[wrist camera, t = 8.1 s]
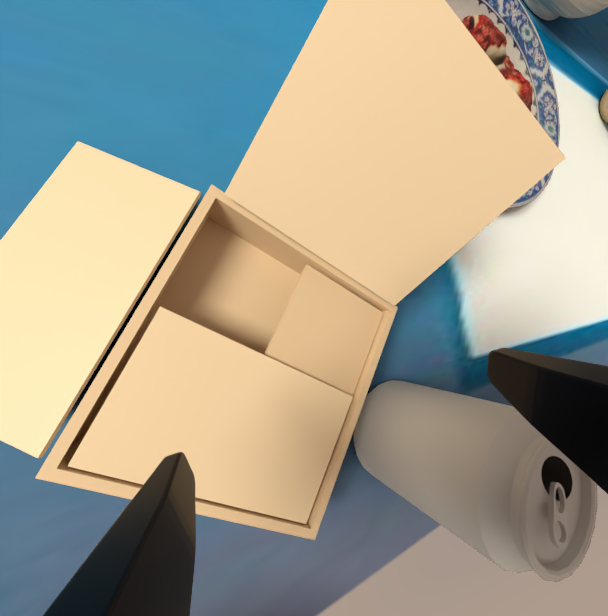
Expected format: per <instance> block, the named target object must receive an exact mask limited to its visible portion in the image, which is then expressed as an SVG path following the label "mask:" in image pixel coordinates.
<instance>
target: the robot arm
mask: <svg viewBox="0 0 608 616" xmlns="http://www.w3.org/2000/svg"><path fill="white" fill-rule="evenodd" d="M487 375H488V378H489V380H490V382H491V383H492V384H493V385H494V386H495V387H496V388H497V390H498V391H499V392H500V393H501V394H502V395H503V396H504V397H505V398H506V399H507V400H508V401H509V402H510V403H511V404H512V405H513V406H514V408H515V409H516V410H517V411H518V412H519V413H520V414H521V415H522V416H523V417H524V418H525V419H526V420H527V421H528V422H529V423H530V424H531V425H532V426H533V427H534V428H535V429H536V430H537V431H538V432H539V433H541V434H542V435H543V436H544V437H545V438H546V439H547V440H548V441H549V442H551V443H552V444H553V445H554V446H555V447H556V448H557V449H558V450H560V451H561V452H562V453H563V454H564V455H565V456H566V457H567V458H568V459H570V460H571V461H572V462H573V463H574V464H575V465H576V466H577V467H578V468H580V469H581V470H582V471H583V472H584V473H585V474H586V475H587V476H588V477H590V478H591V479H592V480H593V481H594V482H595V483H596V484H597V485H599V486H600V487H601V488H602V489H603V490H604V491H605V492H606V493H607V494H608V366H604V365H598V364H593V363H587V362H582V361H576V360H570V359H565V358H559V357H553V356H548V355H542V354H537V353H531V352H525V351H520V350H514V349H508V348H500V349H497V350H494V351H491V352H490V353H489V355H488V371H487ZM195 549H196V510H195V477H194V474H193V471H192V469H191V467H190V465H189V463H188V460H187V458H186V456H185V454H184V453H183V452H177V453H174V454H171V455H168V456H166V457H165V458H164V459H163V460H162V461H161V463H160V464H159V465H158V466H157V468H156V469H155V470H154V472H153V473H152V474H151V476H150V477H149V478H148V479H147V481H146V482H145V483H144V485H143V486H142V487H141V489H140V490H139V491H138V493H137V494H136V495H135V496H134V498H133V499H132V500H131V502H130V503H129V504H128V506H127V507H126V508H125V509H124V511H123V512H122V513H121V515H120V516H119V517H118V519H117V520H116V521H115V522H114V524H113V525H112V526H111V528H110V529H109V530H108V532H107V533H106V534H105V535H104V537H103V538H102V539H101V541H100V542H99V543H98V545H97V546H96V547H95V549H94V550H93V551H92V552H91V554H90V555H89V556H88V558H87V559H86V560H85V562H84V563H83V564H82V565H81V567H80V568H79V569H78V571H77V572H76V573H75V575H74V576H73V577H72V578H71V580H70V581H69V582H68V584H67V585H66V586H65V588H64V589H63V590H62V591H61V593H60V594H59V595H58V597H57V598H56V599H55V601H54V602H53V603H52V604H51V606H50V607H49V608H48V610H47V611H46V612H45V614H44V615H43V616H190V605H191V595H192V584H193V574H194V564H195Z"/></svg>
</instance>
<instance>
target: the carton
mask: <svg viewBox="0 0 608 616" xmlns="http://www.w3.org/2000/svg"><path fill="white" fill-rule="evenodd" d="M200 196H201V193H200V192H199V191H197V190H195V189H192V188H190V187H187V186H185V185H183V184H180V183H178V182H175V181H173V180H170V179H168V178H166V177H163V176H161V175H158V174H156V173H154V172H151V171H149V170H146V169H144V168H141V167H139V166H137V165H134V164H132V163H129V162H127V161H125V160H122V159H120V158H117V157H115V156H112V155H110V154H108V153H105V152H103V151H100V150H98V149H96V148H93V147H91V146H88V145H86V144H83V143H81V142H79V141H78V142H77V143H76V144H75V145H74V147H73V148H72V149H71V151H70V152H69V153H68V154H67V156H66V157H65V158H64V160H63V161H62V162H61V163H60V165H59V166H58V167H57V169H56V170H55V171H54V172H53V174H52V175H51V176H50V178H49V179H48V180H47V181H46V183H45V184H44V185H43V187H42V188H41V189H40V191H39V192H38V193H37V194H36V196H35V197H34V198H33V200H32V201H31V202H30V203H29V205H28V206H27V207H26V209H25V210H24V211H23V212H22V214H21V215H20V216H19V218H18V219H17V220H16V221H15V223H14V224H13V225H12V227H11V228H10V229H9V230H8V232H7V233H6V234H5V236H4V237H3V238H2V239H1V241H0V440H1V441H3V442H5V443H7V444H9V445H11V446H14V447H16V448H18V449H20V450H22V451H24V452H26V453H28V454H30V455H32V456H34V457H36V458H40V457H43V455H44V454H45V452H46V450H47V449H48V447H49V445H50V444H51V442H52V440H53V439H54V437H55V436H56V434H57V432H58V431H59V429H60V427H61V426H62V424H63V422H64V421H65V419H66V417H67V416H68V414H69V412H70V411H71V409H72V407H73V406H74V404H75V402H76V401H77V399H78V398H79V396H80V394H81V393H82V391H83V389H84V388H85V386H86V384H87V383H88V381H89V379H90V378H91V376H92V374H93V373H94V371H95V369H96V368H97V366H98V364H99V363H100V361H101V360H102V358H103V356H104V355H105V353H106V351H107V350H108V348H109V346H110V345H111V343H112V341H113V340H114V338H115V336H116V335H117V333H118V331H119V330H120V328H121V326H122V325H123V323H124V322H125V320H126V318H127V317H128V315H129V313H130V312H131V310H132V308H133V307H134V305H135V303H136V302H137V300H138V298H139V297H140V295H141V293H142V292H143V290H144V288H145V287H146V285H147V284H148V282H149V280H150V279H151V277H152V275H153V274H154V272H155V270H156V269H157V267H158V265H159V264H160V262H161V260H162V259H163V257H164V255H165V254H166V252H167V250H168V249H169V247H170V246H171V244H172V242H173V241H174V239H175V237H176V236H177V234H178V232H179V231H180V229H181V227H182V226H183V224H184V222H185V221H186V219H187V217H188V216H189V214H190V212H191V211H192V209H193V208H194V206H195V204H196V203H197V201H198V199H199V198H200ZM397 309H398V307H397V306H393V305H392V304H390V303H389V302H387V301H386V300H384V299H383V298H381V297H380V296H378V295H377V294H375V293H374V292H372V291H371V290H369V289H368V288H366V287H365V286H363V285H362V284H360V283H359V282H357V281H355V280H354V279H352V278H351V277H349V276H348V275H346V274H345V273H343V272H342V271H340V270H339V269H337V268H336V267H334V266H333V265H331V264H330V263H328V262H327V261H325V260H324V259H322V258H321V257H319V256H318V255H316V254H314V253H313V252H311V251H310V250H308V249H307V248H305V247H304V246H302V245H301V244H299V243H298V242H296V241H295V240H293V239H292V238H290V237H289V236H287V235H286V234H284V233H283V232H281V231H280V230H278V229H277V228H275V227H273V226H272V225H270V224H269V223H267V222H266V221H264V220H263V219H261V218H260V217H258V216H257V215H255V214H254V213H252V212H251V211H249V210H248V209H246V208H245V207H243V206H242V205H240V204H239V203H237V202H236V201H234V200H232V199H231V198H229V197H228V196H226V195H225V193H224V192H223V191H221V190H219V189H218V188H216V187H215V186H213V185H212V184H211V186H210V188H209V189H208V191H207V193H206V194H205V196H204V198H203V199H202V201H201V203H200V204H199V206H198V208H197V209H196V211H195V213H194V214H193V216H192V218H191V219H190V221H189V223H188V224H187V226H186V228H185V229H184V231H183V233H182V234H181V236H180V238H179V239H178V241H177V243H176V244H175V246H174V248H173V249H172V251H171V253H170V254H169V256H168V258H167V259H166V261H165V263H164V264H163V266H162V268H161V269H160V271H159V273H158V274H157V276H156V278H155V279H154V281H153V283H152V284H151V286H150V288H149V289H148V291H147V293H146V294H145V296H144V298H143V299H142V301H141V303H140V304H139V306H138V308H137V309H136V311H135V313H134V314H133V316H132V318H131V319H130V321H129V323H128V324H127V326H126V328H125V329H124V331H123V333H122V334H121V336H120V338H119V339H118V341H117V343H116V344H115V346H114V348H113V349H112V351H111V353H110V354H109V356H108V357H107V359H106V361H105V362H104V364H103V366H102V367H101V369H100V371H99V372H98V374H97V376H96V377H95V379H94V381H93V382H92V384H91V386H90V387H89V389H88V391H87V392H86V394H85V396H84V397H83V399H82V401H81V402H80V404H79V406H78V407H77V409H76V411H75V412H74V414H73V416H72V417H71V419H70V421H69V422H68V424H67V426H66V427H65V429H64V431H63V432H62V434H61V436H60V437H59V439H58V441H57V442H56V444H55V446H54V447H53V449H52V451H51V452H50V454H49V456H48V457H47V459H46V461H45V462H44V464H43V466H42V467H41V469H40V471H39V472H38V474H37V476H36V477H35V478H36V479H41V480H46V481H50V482H55V483H59V484H64V485H68V486H73V487H77V488H82V489H86V490H91V491H95V492H100V493H104V494H109V495H113V496H118V497H123V498H127V499H133V498H134V496H135V495H136V494H137V493H138V491H139V490H140V489H141V487H142V486H143V485H144V483H145V482H146V481H147V479H148V478H149V477H150V476H151V474H152V473H153V472H154V470H155V469H156V468H157V466H158V465H159V464H160V463H161V461H162V460H163V459H164V458H165V457H166V456H168V455H171V454H174V453H177V452H183V453H184V454H185V456H186V458H187V460H188V463H189V465H190V467H191V469H192V471H193V474H194V477H195V510H196V514H199V515H204V516H209V517H213V518H218V519H222V520H227V521H231V522H236V523H240V524H245V525H249V526H254V527H258V528H263V529H267V530H272V531H276V532H281V533H286V534H290V535H295V536H299V537H304V538H308V539H313V540H315V538H316V535H317V532H318V529H319V526H320V524H321V521H322V518H323V515H324V512H325V510H326V507H327V504H328V501H329V498H330V496H331V493H332V490H333V487H334V484H335V482H336V479H337V476H338V473H339V471H340V468H341V465H342V462H343V459H344V457H345V454H346V451H347V448H348V445H349V443H350V440H351V437H352V434H353V431H354V429H355V426H356V423H357V420H358V417H359V415H360V412H361V409H362V406H363V404H364V401H365V398H366V395H367V392H368V390H369V387H370V384H371V381H372V378H373V376H374V373H375V370H376V367H377V364H378V362H379V359H380V356H381V353H382V350H383V348H384V345H385V342H386V339H387V337H388V334H389V331H390V328H391V325H392V323H393V320H394V317H395V314H396V311H397Z"/></svg>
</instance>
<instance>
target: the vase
mask: <svg viewBox="0 0 608 616" xmlns="http://www.w3.org/2000/svg"><path fill="white" fill-rule="evenodd" d="M523 1H524V3H525V4H526V5H527V6H528V8H529V9H530V10H531V11H532V12H533V13H534V14H535V15H537V16H538V17H540V18H541V19H544V20H554V19H556V18H558V17H559V16H562V17H565V18H583V17H587V16H590V15H593V14H596V13H598V12H599V11H601V10H603V9H605V8H607V7H608V0H523Z"/></svg>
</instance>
